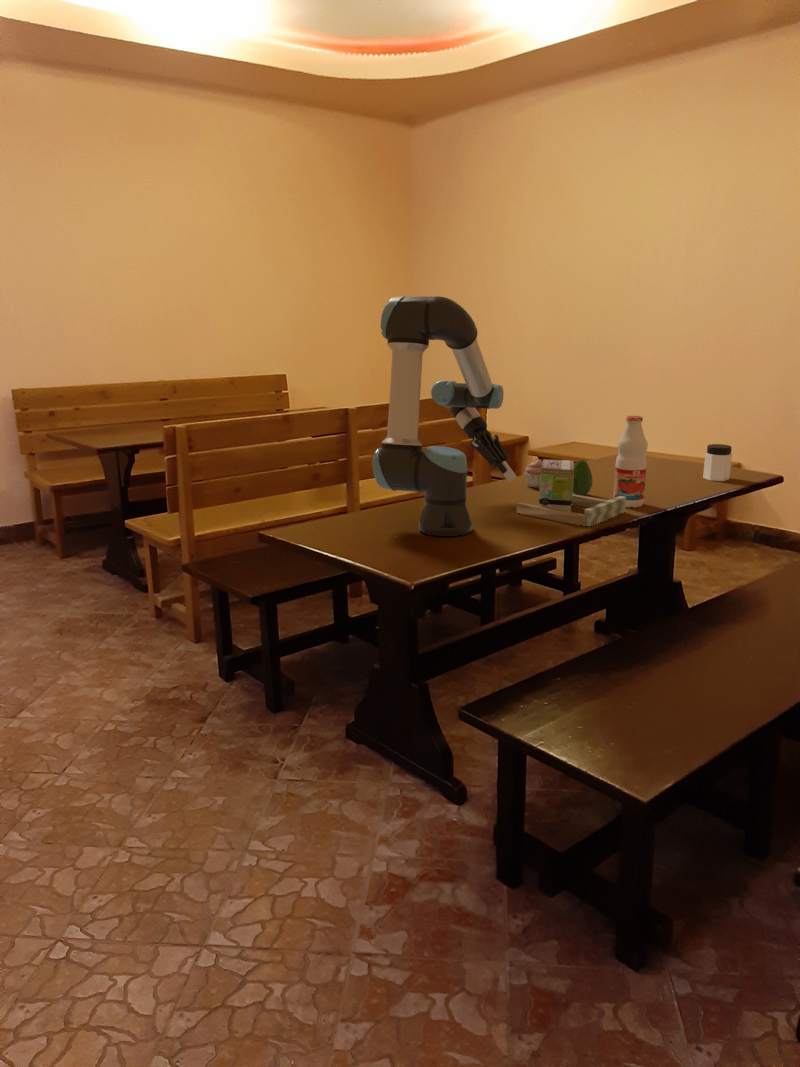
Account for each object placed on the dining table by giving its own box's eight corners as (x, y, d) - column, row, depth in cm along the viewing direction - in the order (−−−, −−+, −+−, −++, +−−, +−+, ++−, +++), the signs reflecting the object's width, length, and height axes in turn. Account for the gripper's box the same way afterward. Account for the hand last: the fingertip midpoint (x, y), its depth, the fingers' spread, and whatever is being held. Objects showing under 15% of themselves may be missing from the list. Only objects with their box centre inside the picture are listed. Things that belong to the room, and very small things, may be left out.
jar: (733, 480, 297) (737, 447, 293) (713, 482, 295) (716, 448, 292) (719, 475, 305) (722, 443, 302) (699, 476, 303) (702, 444, 300)
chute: (589, 527, 239) (590, 510, 238) (516, 513, 255) (517, 497, 254) (625, 512, 255) (626, 496, 254) (554, 499, 271) (554, 484, 269)
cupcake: (523, 483, 295) (524, 455, 292) (550, 484, 293) (551, 456, 290) (521, 488, 286) (522, 460, 283) (549, 490, 284) (550, 461, 282)
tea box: (571, 517, 250) (574, 468, 246) (537, 515, 252) (539, 467, 248) (571, 505, 265) (574, 459, 260) (539, 503, 267) (541, 458, 262)
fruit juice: (638, 500, 269) (644, 414, 262) (647, 507, 260) (654, 418, 253) (609, 501, 269) (615, 414, 261) (617, 508, 260) (623, 419, 252)
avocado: (585, 492, 281) (587, 457, 278) (595, 497, 274) (597, 461, 271) (563, 493, 280) (565, 458, 276) (572, 498, 272) (574, 462, 269)
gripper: (476, 427, 281) (516, 482, 275) (453, 432, 271) (494, 490, 265) (489, 413, 276) (531, 469, 270) (466, 417, 266) (509, 476, 261)
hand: (512, 479), depth 268 cm, fingers closed
